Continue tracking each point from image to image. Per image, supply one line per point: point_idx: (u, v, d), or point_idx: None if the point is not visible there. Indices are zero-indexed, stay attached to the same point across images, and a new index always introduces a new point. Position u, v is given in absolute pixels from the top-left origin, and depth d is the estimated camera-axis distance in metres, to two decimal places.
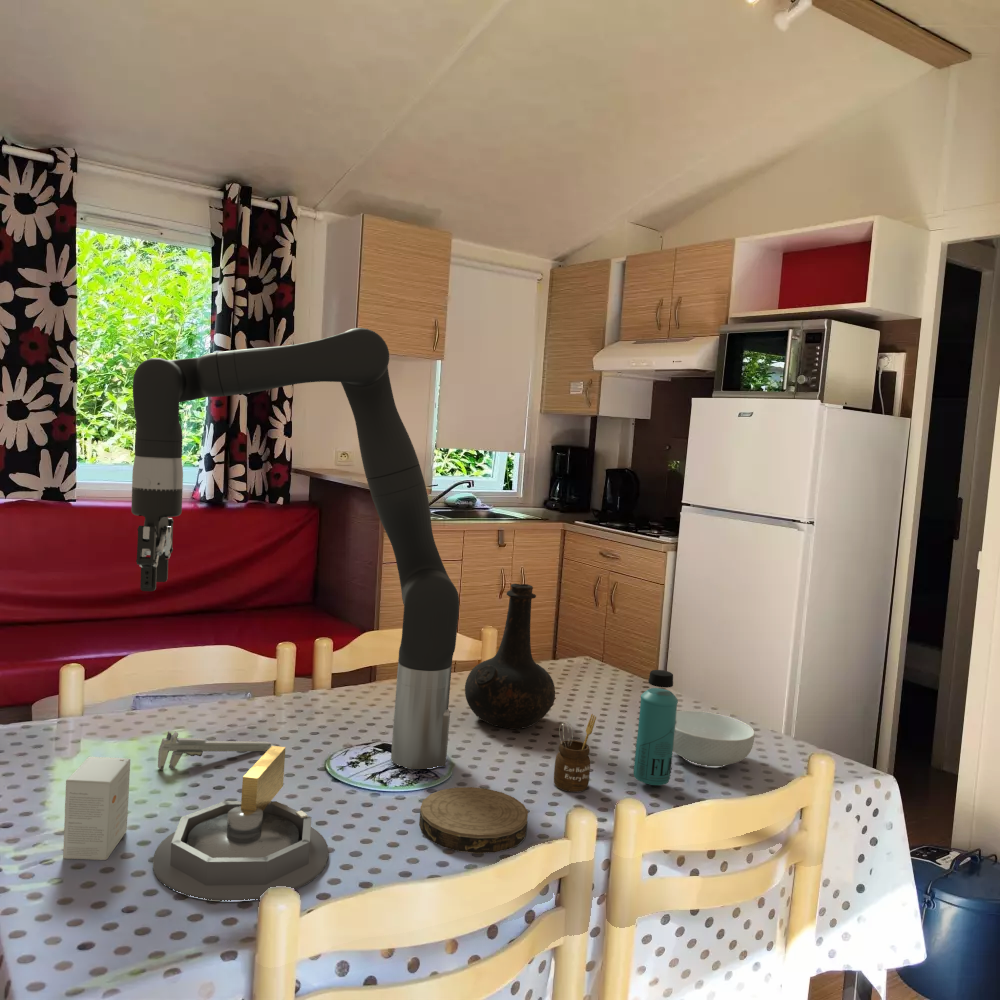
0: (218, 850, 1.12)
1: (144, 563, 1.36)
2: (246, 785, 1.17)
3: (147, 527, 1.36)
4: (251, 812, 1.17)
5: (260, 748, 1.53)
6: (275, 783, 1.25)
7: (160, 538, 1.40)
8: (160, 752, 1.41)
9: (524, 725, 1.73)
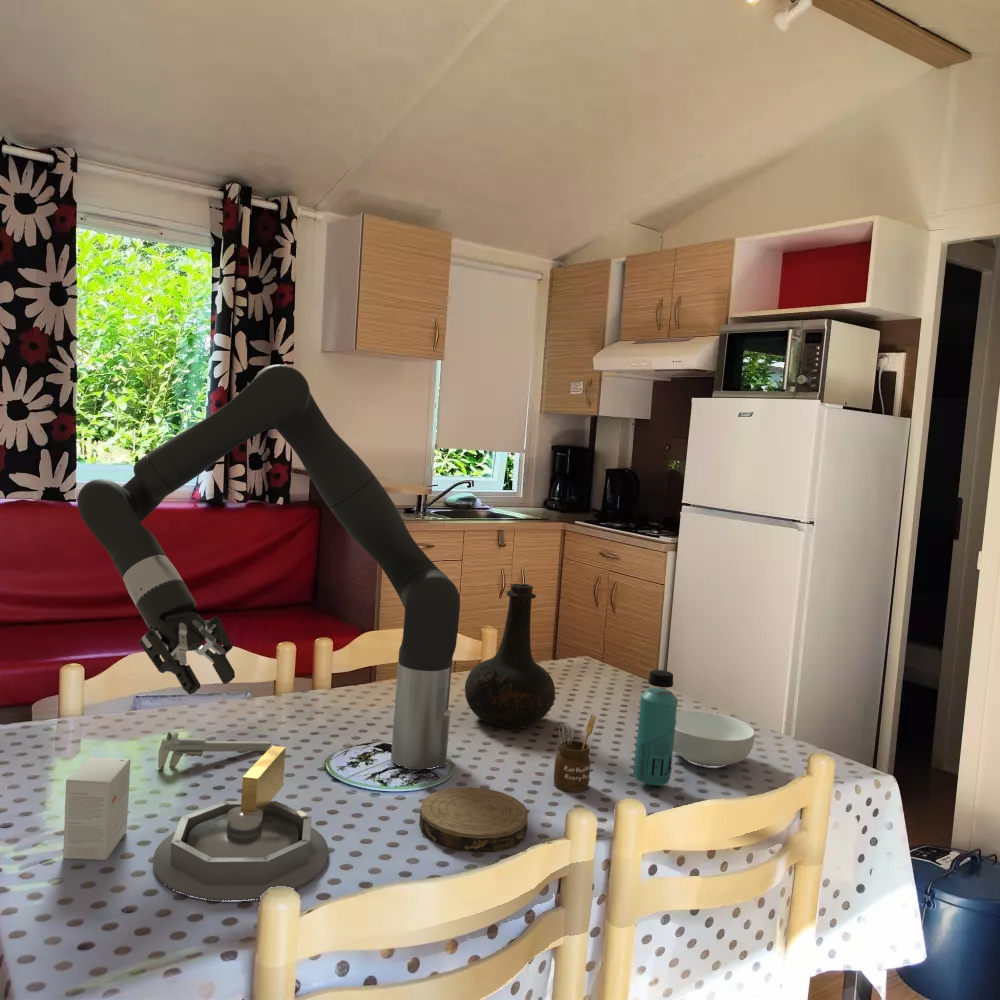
0: (218, 850, 1.12)
1: (164, 667, 1.26)
2: (246, 785, 1.17)
3: (144, 636, 1.26)
4: (251, 812, 1.17)
5: (260, 748, 1.53)
6: (275, 783, 1.25)
7: (177, 636, 1.29)
8: (160, 752, 1.41)
9: (524, 725, 1.73)
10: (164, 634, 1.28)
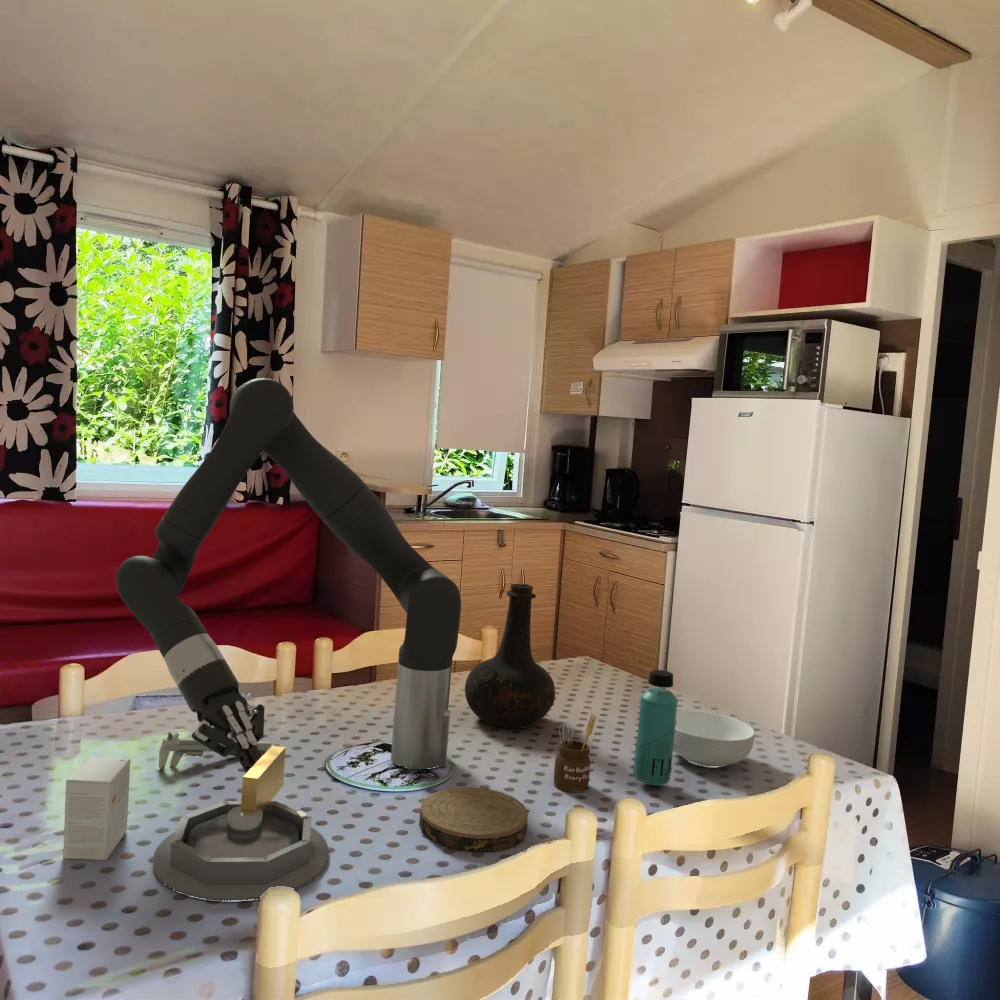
0: (218, 850, 1.12)
1: (227, 752, 1.25)
2: (246, 785, 1.17)
3: (197, 732, 1.23)
4: (251, 812, 1.17)
5: (261, 748, 1.53)
6: (275, 783, 1.25)
7: (226, 721, 1.27)
8: (161, 752, 1.41)
9: (524, 725, 1.73)
10: None
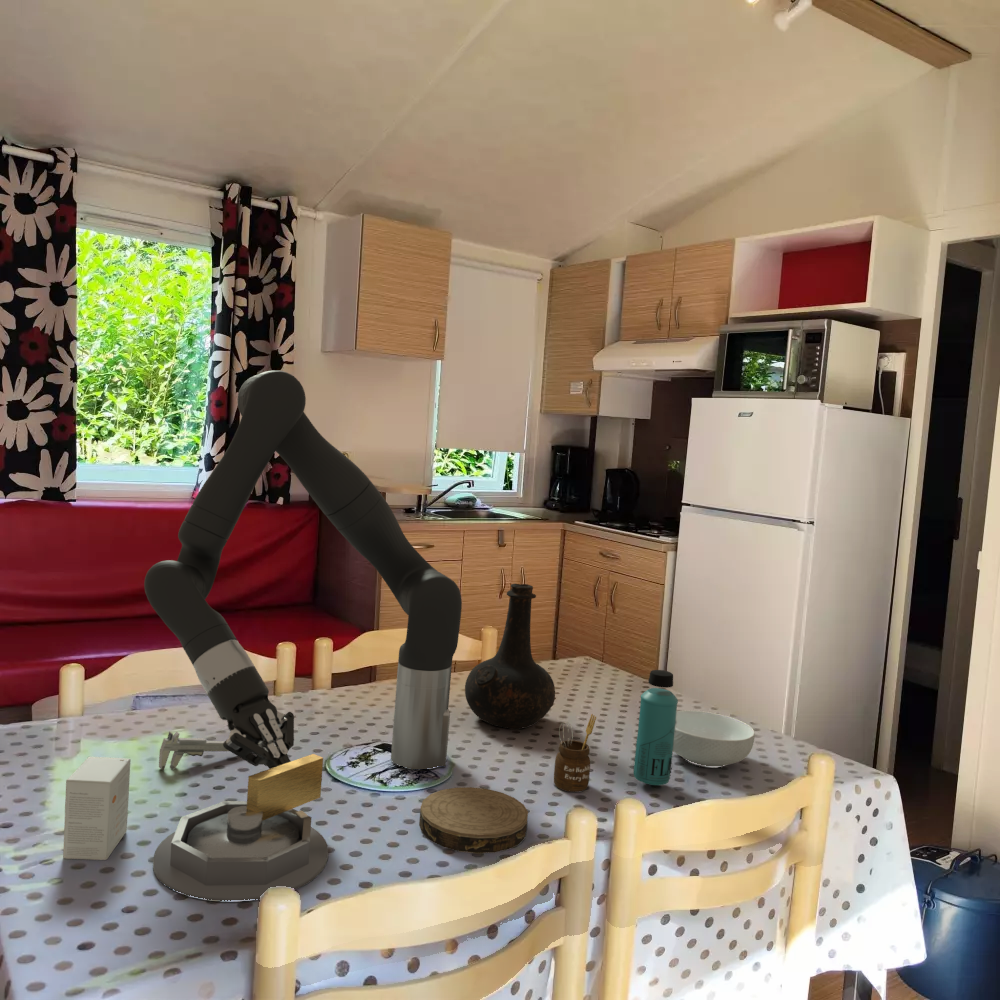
0: (206, 843, 1.14)
1: (258, 761, 1.23)
2: (250, 785, 1.17)
3: (229, 741, 1.22)
4: (251, 813, 1.17)
5: None
6: (302, 791, 1.23)
7: (257, 730, 1.25)
8: (161, 752, 1.41)
9: (524, 725, 1.73)
10: None
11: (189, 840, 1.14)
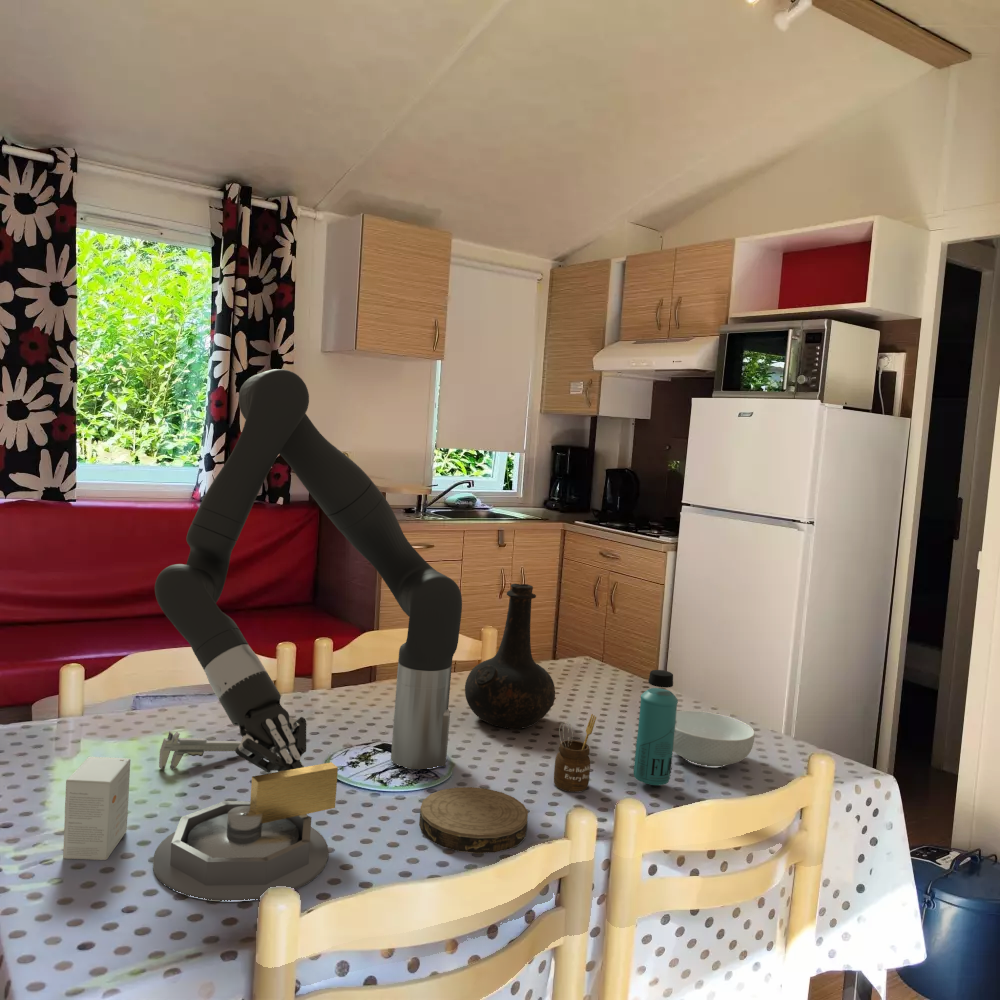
0: (204, 837, 1.15)
1: (271, 767, 1.22)
2: (253, 786, 1.17)
3: (241, 747, 1.20)
4: (250, 814, 1.16)
5: None
6: (312, 799, 1.21)
7: (269, 736, 1.23)
8: (161, 752, 1.41)
9: (524, 725, 1.73)
10: None
11: (191, 832, 1.16)
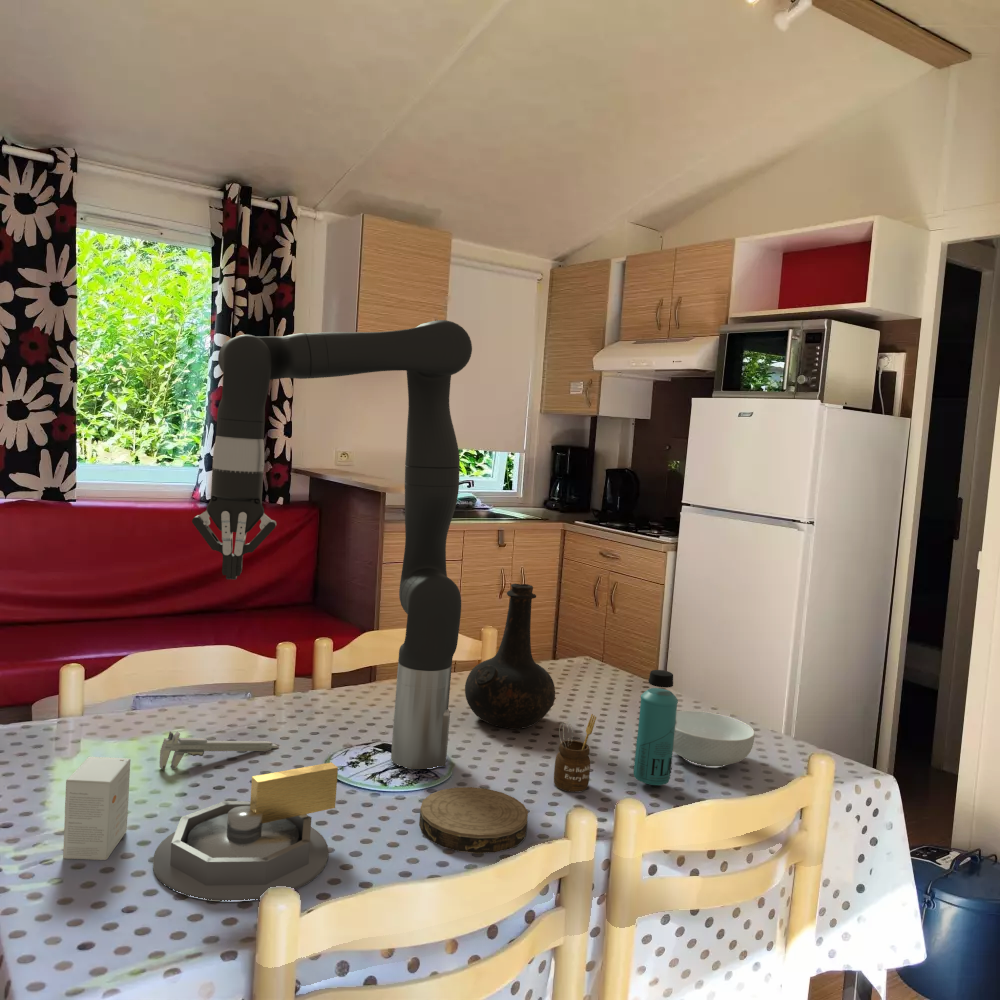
0: (204, 837, 1.15)
1: None
2: (253, 786, 1.17)
3: None
4: (250, 814, 1.16)
5: (261, 748, 1.53)
6: (312, 799, 1.21)
7: (222, 524, 1.36)
8: (162, 752, 1.42)
9: (524, 725, 1.73)
10: None
11: (191, 832, 1.16)
